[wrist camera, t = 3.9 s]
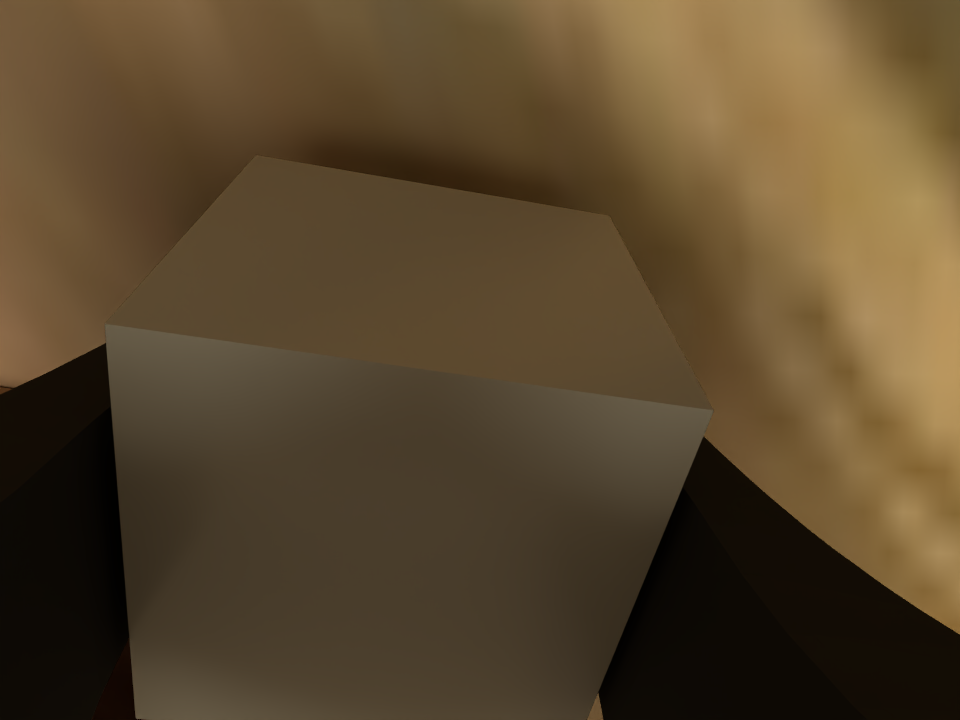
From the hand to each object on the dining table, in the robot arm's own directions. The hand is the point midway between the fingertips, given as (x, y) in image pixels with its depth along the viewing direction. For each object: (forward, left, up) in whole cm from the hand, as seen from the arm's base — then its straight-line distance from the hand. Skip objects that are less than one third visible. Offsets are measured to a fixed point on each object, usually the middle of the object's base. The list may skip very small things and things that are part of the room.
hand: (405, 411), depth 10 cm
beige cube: (0, 0, +1) cm, 1 cm away
